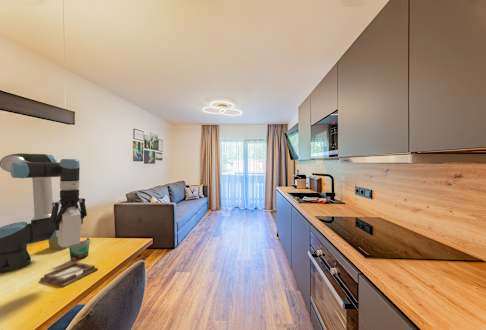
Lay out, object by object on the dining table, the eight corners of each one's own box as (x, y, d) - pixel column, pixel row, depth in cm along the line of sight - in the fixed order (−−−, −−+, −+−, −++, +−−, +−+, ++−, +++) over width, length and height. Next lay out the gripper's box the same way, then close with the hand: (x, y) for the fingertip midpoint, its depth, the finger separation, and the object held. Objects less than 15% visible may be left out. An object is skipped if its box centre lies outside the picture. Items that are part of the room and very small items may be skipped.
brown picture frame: (40, 280, 100) (40, 275, 100) (75, 265, 115) (75, 260, 115) (64, 286, 95) (64, 281, 95) (97, 270, 110) (97, 265, 110)
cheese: (59, 244, 146) (59, 230, 146) (76, 243, 148) (76, 229, 148) (48, 250, 136) (48, 235, 136) (66, 249, 138) (66, 234, 138)
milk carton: (57, 244, 103) (58, 207, 103) (75, 240, 109) (75, 204, 109) (62, 247, 99) (62, 208, 99) (80, 243, 105) (80, 206, 105)
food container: (76, 262, 118) (76, 245, 118) (67, 261, 119) (68, 244, 119) (95, 253, 130) (95, 238, 130) (87, 253, 132) (87, 237, 132)
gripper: (49, 192, 93) (48, 241, 93) (95, 187, 113) (95, 228, 113) (38, 191, 95) (38, 239, 95) (86, 186, 115) (85, 226, 115)
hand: (69, 233), depth 104 cm, fingers closed on milk carton, 8 cm apart
